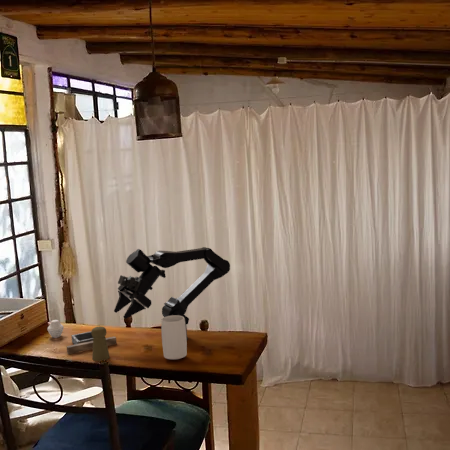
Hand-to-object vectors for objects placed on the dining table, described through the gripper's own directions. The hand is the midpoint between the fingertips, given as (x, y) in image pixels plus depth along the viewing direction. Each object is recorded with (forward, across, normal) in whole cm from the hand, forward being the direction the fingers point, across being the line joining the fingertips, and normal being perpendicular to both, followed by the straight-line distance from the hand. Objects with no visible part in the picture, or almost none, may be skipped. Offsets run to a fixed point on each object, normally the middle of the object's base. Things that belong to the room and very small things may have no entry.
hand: (119, 314), depth 198 cm
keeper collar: (+15, -18, +5) cm, 24 cm away
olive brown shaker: (+16, 0, +4) cm, 16 cm away
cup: (+1, +18, +19) cm, 26 cm away
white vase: (+20, -34, 0) cm, 39 cm away
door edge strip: (+15, -11, +5) cm, 19 cm away
